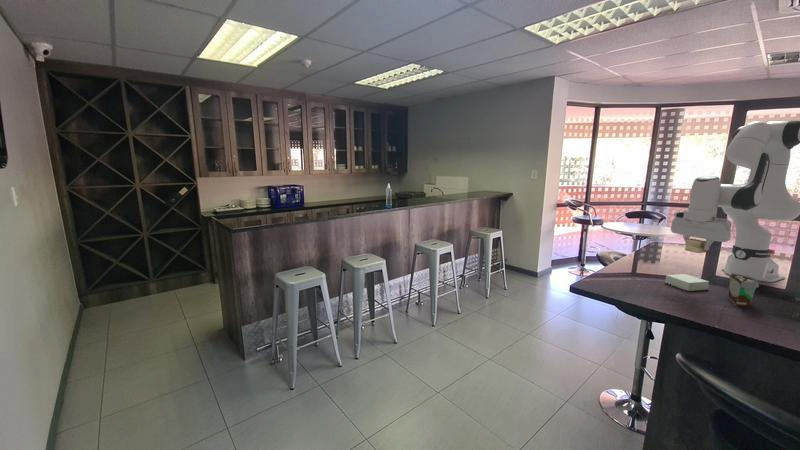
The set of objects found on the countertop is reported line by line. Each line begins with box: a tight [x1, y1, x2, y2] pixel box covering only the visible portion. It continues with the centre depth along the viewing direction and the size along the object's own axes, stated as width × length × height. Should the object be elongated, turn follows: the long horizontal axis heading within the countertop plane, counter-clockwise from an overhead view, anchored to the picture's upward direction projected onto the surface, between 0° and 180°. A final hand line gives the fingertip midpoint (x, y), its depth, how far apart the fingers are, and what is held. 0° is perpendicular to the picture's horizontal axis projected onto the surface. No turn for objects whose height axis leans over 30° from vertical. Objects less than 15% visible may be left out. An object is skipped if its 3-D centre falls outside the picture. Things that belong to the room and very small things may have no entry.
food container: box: [727, 273, 760, 308], centre depth 122 cm, size 12×6×10 cm, turn 148°
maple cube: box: [684, 237, 708, 254], centre depth 134 cm, size 5×5×5 cm
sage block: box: [665, 273, 710, 292], centre depth 140 cm, size 10×10×4 cm
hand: (696, 247), depth 135 cm, fingers closed on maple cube, 5 cm apart
